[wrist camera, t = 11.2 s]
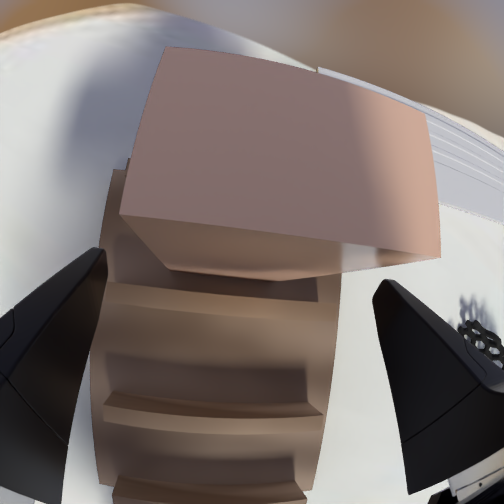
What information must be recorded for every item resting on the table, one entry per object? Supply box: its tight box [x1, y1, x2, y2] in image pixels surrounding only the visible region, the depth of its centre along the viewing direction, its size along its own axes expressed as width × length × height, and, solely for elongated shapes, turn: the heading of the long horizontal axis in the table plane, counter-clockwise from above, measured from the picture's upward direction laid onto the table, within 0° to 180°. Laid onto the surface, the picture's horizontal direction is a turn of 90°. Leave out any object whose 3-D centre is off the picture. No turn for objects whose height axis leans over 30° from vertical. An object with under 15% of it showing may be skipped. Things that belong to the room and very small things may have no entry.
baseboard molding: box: [316, 67, 504, 225], centre depth 24 cm, size 31×3×12 cm
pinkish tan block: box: [119, 47, 441, 282], centre depth 11 cm, size 4×6×13 cm, turn 85°
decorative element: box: [458, 320, 504, 371], centre depth 20 cm, size 22×5×6 cm, turn 39°
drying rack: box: [90, 158, 342, 504], centre depth 16 cm, size 21×15×4 cm
